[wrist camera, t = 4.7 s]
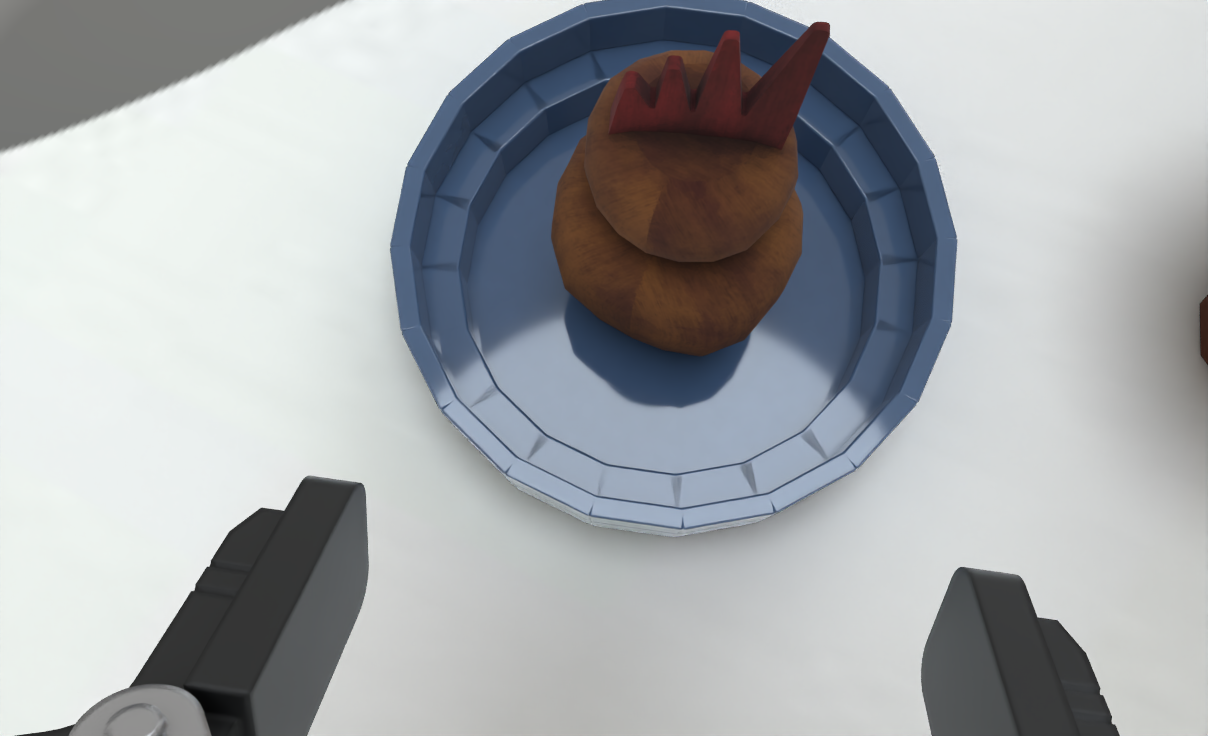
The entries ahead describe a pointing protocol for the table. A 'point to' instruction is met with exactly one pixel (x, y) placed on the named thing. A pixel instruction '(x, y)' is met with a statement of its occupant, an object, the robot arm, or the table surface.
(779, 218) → the wooden figurine
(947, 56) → the table surface
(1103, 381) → the table surface
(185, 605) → the robot arm
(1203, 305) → the ice cream bowl
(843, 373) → the bowl
